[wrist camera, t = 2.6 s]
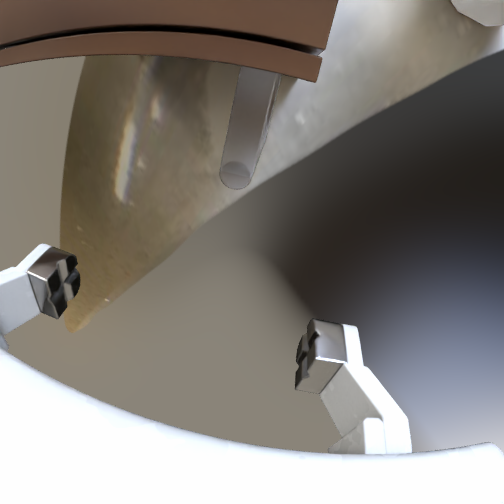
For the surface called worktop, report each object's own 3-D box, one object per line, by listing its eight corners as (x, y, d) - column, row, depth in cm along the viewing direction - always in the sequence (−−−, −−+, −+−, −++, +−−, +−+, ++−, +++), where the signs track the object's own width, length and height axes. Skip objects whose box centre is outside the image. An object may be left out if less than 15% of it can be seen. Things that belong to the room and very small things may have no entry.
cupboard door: (283, 137, 31) (269, 247, 13) (129, 109, 31) (-21, 179, 12) (301, 69, 27) (322, 57, 8) (137, 46, 26) (-25, 57, 8)
